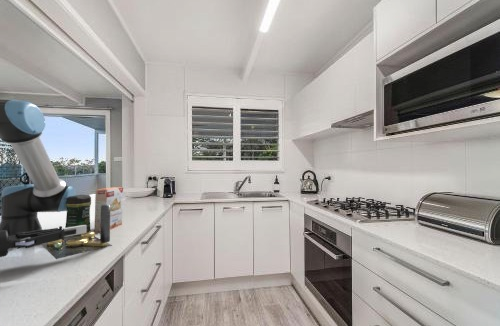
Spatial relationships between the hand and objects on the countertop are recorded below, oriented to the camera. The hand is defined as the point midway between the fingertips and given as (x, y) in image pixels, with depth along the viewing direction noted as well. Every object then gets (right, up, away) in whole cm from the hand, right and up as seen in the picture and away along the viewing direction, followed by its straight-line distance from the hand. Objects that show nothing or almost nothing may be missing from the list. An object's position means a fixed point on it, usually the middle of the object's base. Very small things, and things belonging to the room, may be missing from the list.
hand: (85, 228), depth 83 cm
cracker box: (-12, -10, +33) cm, 36 cm away
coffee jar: (-20, -10, +23) cm, 32 cm away
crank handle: (-4, -8, +7) cm, 11 cm away
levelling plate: (-8, -9, +7) cm, 14 cm away
